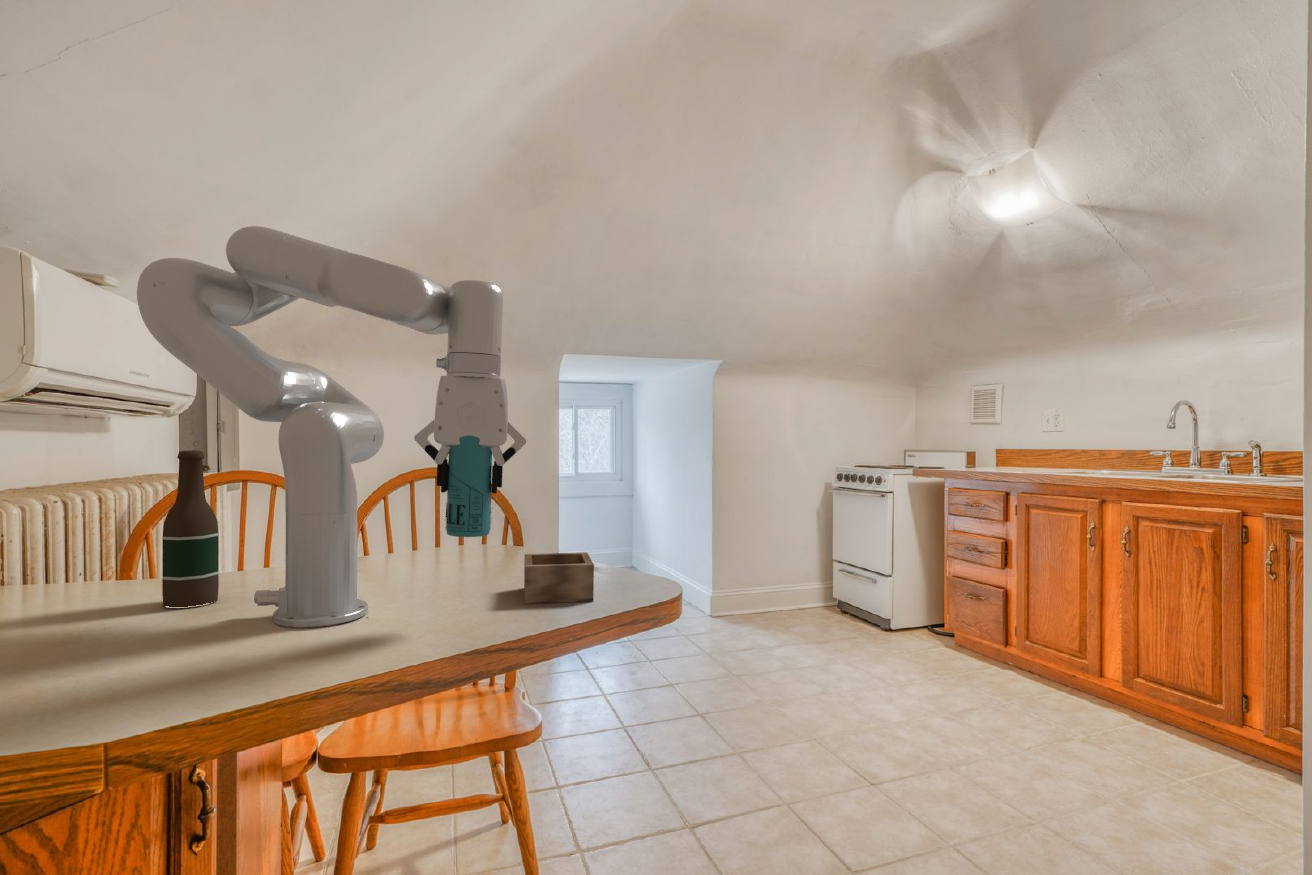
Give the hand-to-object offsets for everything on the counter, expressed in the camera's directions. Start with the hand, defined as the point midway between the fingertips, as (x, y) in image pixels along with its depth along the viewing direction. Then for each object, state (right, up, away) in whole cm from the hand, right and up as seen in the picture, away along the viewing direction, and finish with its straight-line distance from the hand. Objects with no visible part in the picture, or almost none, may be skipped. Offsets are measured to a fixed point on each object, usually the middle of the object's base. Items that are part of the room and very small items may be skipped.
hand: (469, 490), depth 98 cm
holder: (+10, -19, +17) cm, 27 cm away
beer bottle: (-46, -19, +8) cm, 50 cm away
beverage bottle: (0, -8, 0) cm, 8 cm away
